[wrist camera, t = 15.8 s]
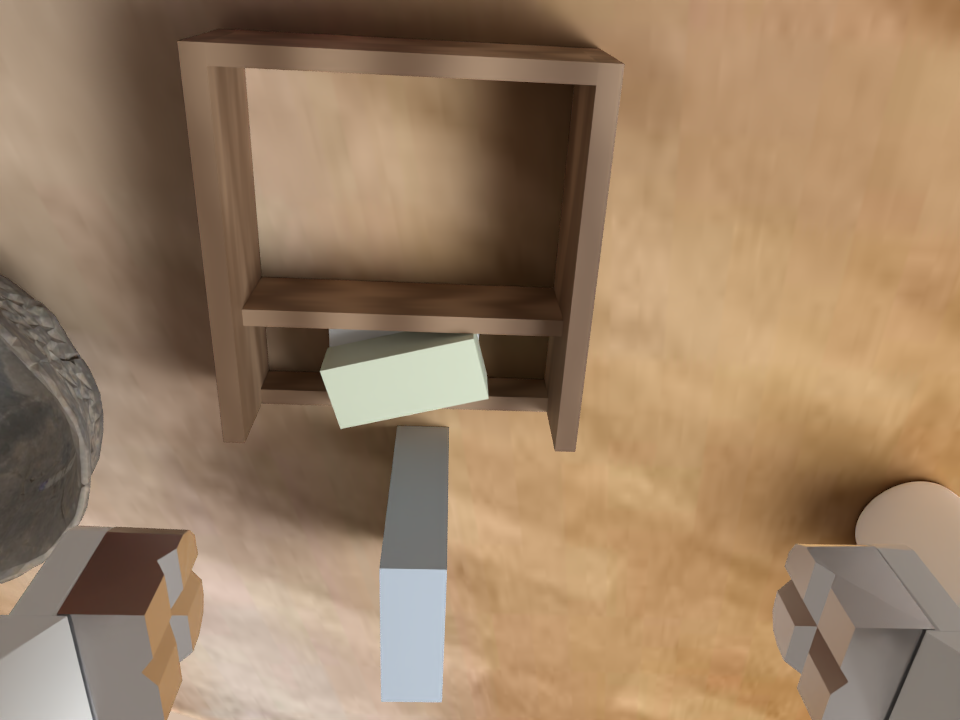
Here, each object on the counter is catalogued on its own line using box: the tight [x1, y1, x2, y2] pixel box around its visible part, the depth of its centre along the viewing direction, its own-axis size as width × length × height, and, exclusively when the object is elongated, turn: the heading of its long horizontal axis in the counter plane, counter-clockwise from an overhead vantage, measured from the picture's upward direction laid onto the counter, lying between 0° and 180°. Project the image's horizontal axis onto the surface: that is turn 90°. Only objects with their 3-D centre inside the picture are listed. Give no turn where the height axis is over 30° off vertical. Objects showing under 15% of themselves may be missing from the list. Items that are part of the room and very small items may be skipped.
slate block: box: [380, 426, 449, 702], centre depth 49 cm, size 4×10×14 cm, turn 177°
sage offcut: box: [320, 331, 489, 429], centre depth 47 cm, size 9×4×3 cm, turn 103°
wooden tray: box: [177, 29, 625, 452], centre depth 44 cm, size 20×22×7 cm
